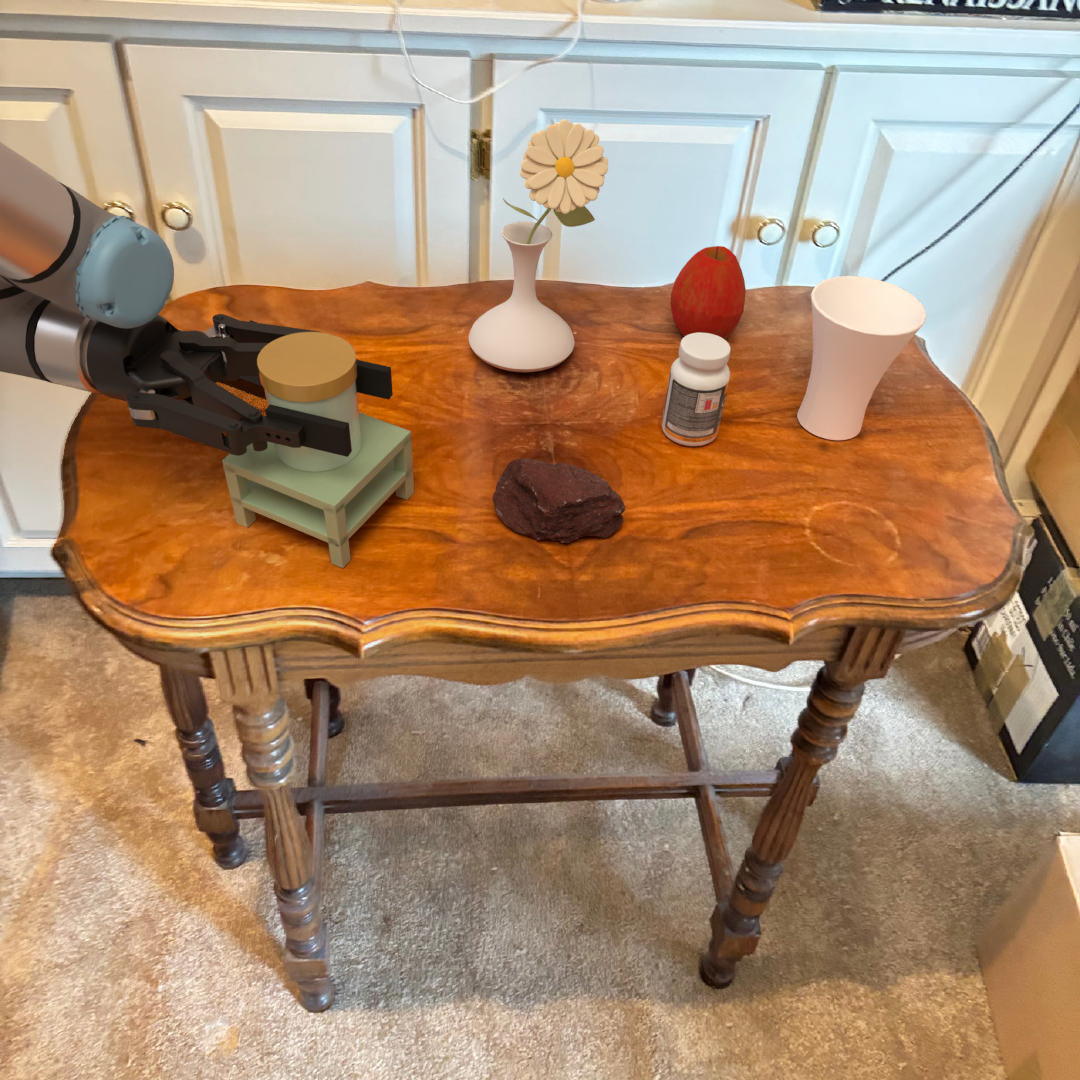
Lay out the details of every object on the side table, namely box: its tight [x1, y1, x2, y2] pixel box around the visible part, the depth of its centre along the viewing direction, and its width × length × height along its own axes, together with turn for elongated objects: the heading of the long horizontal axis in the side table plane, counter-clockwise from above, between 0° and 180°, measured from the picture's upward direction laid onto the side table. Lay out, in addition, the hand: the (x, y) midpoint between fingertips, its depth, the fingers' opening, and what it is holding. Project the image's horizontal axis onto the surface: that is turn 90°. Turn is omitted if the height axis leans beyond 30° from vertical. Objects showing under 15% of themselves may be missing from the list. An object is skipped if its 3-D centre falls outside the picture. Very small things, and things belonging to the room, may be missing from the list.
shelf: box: [221, 411, 415, 569], centre depth 80 cm, size 11×11×7 cm
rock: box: [492, 457, 626, 544], centre depth 82 cm, size 11×6×8 cm
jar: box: [257, 331, 362, 472], centre depth 75 cm, size 7×7×8 cm
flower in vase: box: [468, 118, 609, 373], centre depth 93 cm, size 13×11×25 cm
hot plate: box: [218, 319, 266, 400], centre depth 97 cm, size 9×9×2 cm
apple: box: [670, 245, 747, 340], centre depth 103 cm, size 8×8×11 cm
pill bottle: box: [661, 333, 732, 447], centre depth 90 cm, size 6×6×10 cm
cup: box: [796, 275, 927, 441], centre depth 91 cm, size 10×10×14 cm
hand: (369, 410), depth 73 cm, fingers open, 7 cm apart
